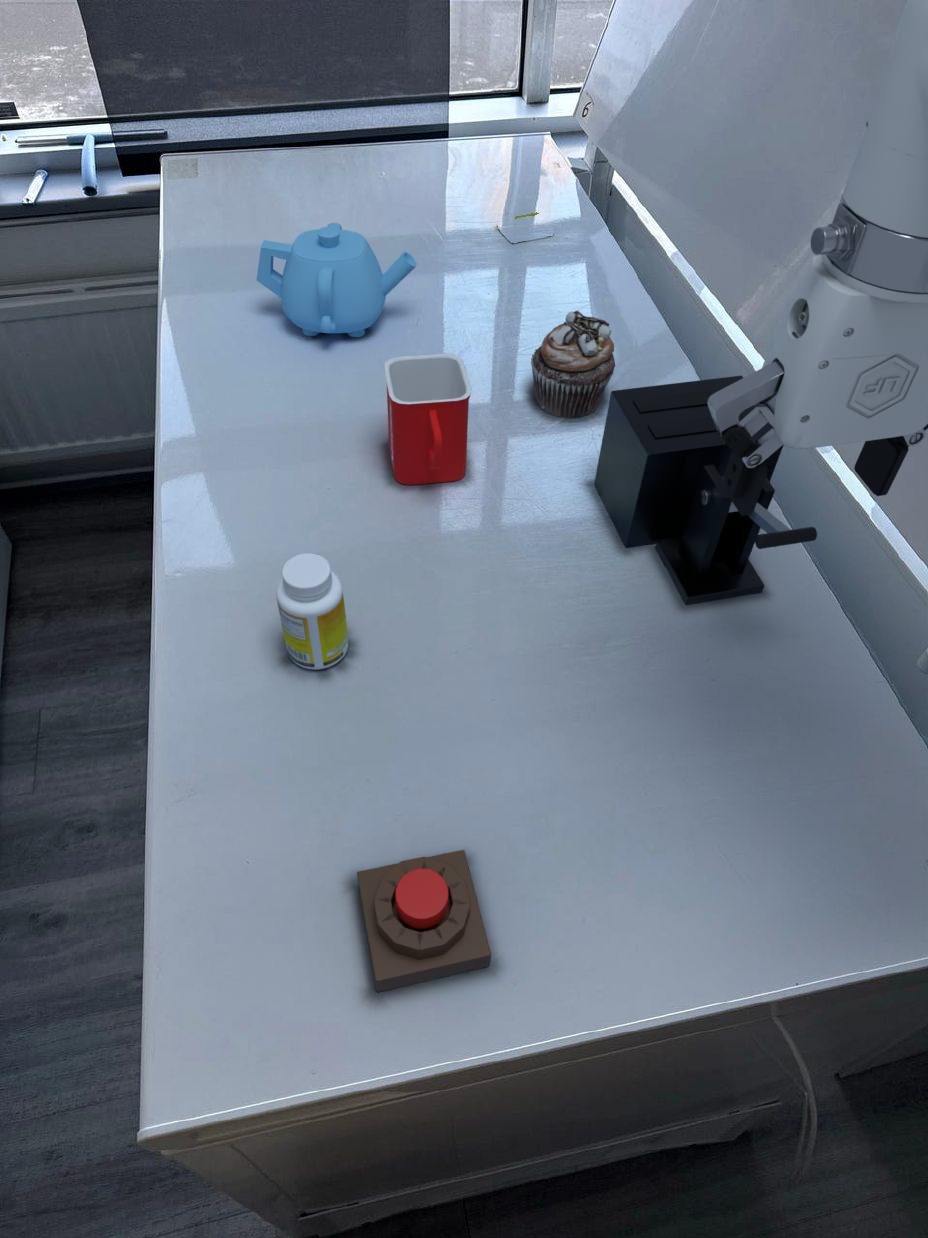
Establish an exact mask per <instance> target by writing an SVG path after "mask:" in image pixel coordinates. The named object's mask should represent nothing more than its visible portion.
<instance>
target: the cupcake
mask: <svg viewBox="0 0 928 1238" xmlns="http://www.w3.org/2000/svg"><path fill="white" fill-rule="evenodd" d="M564 319H565V321H564V322H563V323H561V324H560V323H559V324H558V325H557V326H555V327H554V328H553V329H552V330H551V331H550V332H549V333H547V334H546V336H544V338H543V340H542V343H541V345H540V346H539V347H538V348H535V349H534V352H533V354H531V357H530V364H531V365H530V366H531V372H532V380H533V381H532V382H533V392H534V394H533V395H534V400H535V403H536V405H537V406H538V407H539V408H540V409H542V410H543V411H545V412H546V413H547V414H550V415H552V416H555V417H559V418H560V417H562V418H568V419H574V418H582V417H585V416H589V415H590V414H592V413H595V411H596V410H597V407H598V406H599V405H600V402H601V400H602V397H603V395H604V393H605V391H606V388H607V386H608V384H609V382H610V380H611V379H612V376H613V375H614V371H615V368H616V360H615V356H614V351H615V343H614V342H613V340H612V338H611V334H612V329H611V328H610V323H609V322H607V321H606V320H604V319H601V318H598V317H594V316H586V315H584V314H583V313H582V312H580V311H579V310H575V311H569V312H568V313H567V314H566V315H565V318H564Z"/></svg>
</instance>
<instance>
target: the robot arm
mask: <svg viewBox="0 0 928 1238" xmlns="http://www.w3.org/2000/svg"><path fill="white" fill-rule="evenodd" d="M882 71H883V72H882V74H881V77H880V79H879V84H878V86H877V89H876V92H875V96H874V98H873V100H872V101H873V102H872V105H871V107H870V111H869V113H868V116H867V120H866V122H865V126H864V128H863V131H862V135H861V137H860V141H859V143H858V147H857V149H856V152H855V156H854V159H853V162H852V164H851V168H850V170H849V173H848V176H847V179H846V183H845V185H844V188H843V192H842V195H841V198H840V200H839V203H838V205H837V207H836V210H835V214H834V217H833V219H832V223H829V224H828V225H827V226H818V227H816V228H815V229H814V230H813V231H812V234H811V236H810V249H811V253H813V255H814V256H813V257H812V259H811V260H810V262H809V264H808V265H807V267H806V269H805V271H804V272H803V274H802V275H801V278H800V279H799V281H798V284H797V285H796V287H795V289H794V291H793V292H792V295H791V297H790V299H789V301H788V303H787V305H786V308H785V310H784V311H783V314H782V316H781V319H780V320H779V323H778V325H777V327H776V329H775V332H774V334H773V337H772V340H771V343H770V345H769V347H768V350H767V353H766V355H765V358H764V361H763V364H762V367H761V368H759V369H757V370H756V371H754V372H752V373H750V374H748V375H746V376H743V378H742V379H740V380H739V381H737V382H735V383H733V384H731V385H729V386H727V387H725V388H723V389H722V390H720V391H718V392H716V393H714V394H712V395H711V396H710V397H709V398H708V401H707V403H708V407H709V410H710V413H711V416H712V419H713V421H714V427H715V429H716V430H717V432H718V433H719V435H720V436H721V438H722V439H723V441H724V442H725V444H726V445H727V446H728V447H729V448H730V449H731V450H732V452H731V456H730V459H729V462H728V465H727V469H726V472H725V475H724V478H723V490H724V492H725V494H726V495H727V497H728V498H730V499H731V500H732V502H733V503H734V505H735V507H736V508H737V510H738V511H739V513H740V514H741V515H742V516H745V515H751V514H752V512H754V509H755V507H756V504H757V501H758V498H759V495H760V492H761V490H762V487H763V484H764V481H765V478H766V475H767V472H768V468H767V466H766V464H765V463H764V460H766V459H767V458H768V457H769V456H770V455H771V454H773V453H774V452H775V451H776V450H777V449H778V448H780V447H781V446H782V445H783V444H784V446H785V447H787V448H790V449H797V450H807V449H816V448H822V447H823V448H825V447H832V446H841V445H848V444H855V443H856V444H857V443H863V442H864V443H863V445H862V448H861V451H860V452H859V455H858V457H857V459H856V462H855V464H854V472H855V473H856V474H857V475H858V477H859V478H860V480H862V482H863V483H864V484H865V485H866V486H867V488H868V490H870V491H871V493H872V494H873V495H874V496H876V497H882V496H886V495H888V493H889V491H890V489H891V487H892V486H893V483H894V481H895V479H896V476H897V475H898V473H899V472H900V469H901V467H902V465H903V462H904V461H905V459H906V456H907V455H908V453H909V451H910V450H909V447H915V446H917V445H919V444H921V443H922V442H923V441H924V439H925V437H926V431H927V430H928V0H907V1H906V3H905V5H904V8H903V11H902V14H901V18H900V20H899V23H898V26H897V30H896V32H895V35H894V38H893V41H892V45H891V48H890V50H889V54H888V56H887V59H886V63H885V65H884V69H883V70H882ZM753 405H755V407H756V408H755V409H753V410H752V411H751V412H750V413H749V414H748V415H747V416H746V417H745V418H743V419H742V420H741V421H740V422H739V416H740V414H741V413H742V411H744V410H745V409H747V408H749V407H751V406H753ZM767 423H769V424H770V425H771V427H772V429H771V430H770V431H768V432H767V433H766V434H765V435H764V436H763V437H762V438H760V439H759V440H758V441H757V442H755V440H754V439H753V438H752V436H753V435H754V434H755V433H756V432H757V431H759V430H760V429H761V428H762V427H763V426H764V425H765V424H767Z"/></svg>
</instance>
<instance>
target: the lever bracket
mask: <svg viewBox="0 0 928 1238" xmlns="http://www.w3.org/2000/svg"><path fill="white" fill-rule="evenodd" d="M775 493H776V489H775V488H774V486H773V485H772V483H771V481H770V482H769V481H768V479H767V478H765V481H764V484H763V487H762V490H761V492H760V495H759V498H758V501H757V502H758V503H759V504H760V505H761V506H763V507H764V508H765V509H766V510H767V511H769V507H770V505H771V502H772V499H773V498H774V494H775ZM731 503H732V500H731V499H730V498H728V497H727V495H726V494H725V492H724V490H723V479H722V477H721V476H720V474H719V473H718V471H717V470H716V468H715V466H714V465H708V466H703V470H702V473H701V476H700V480H699V483H698V486H697V490H696V493H695V496H694V500H693V503H692V506H691V510H690V513H689V516H688V520H687V523H686V526H685V530H684V533H683V536H682V537H678V538H671V539H664V540H658V541H657V543H655V544H656V545H655V549H656V551H657V552H658V554H659V556H660V558H661V560H662V562H663V564H664V567H666V570H667V572H668V574H669V575H670V577H671V579H672V581H673V583H674V585H675V587H676V588H677V591H678V592H679V594H680V596H681V598H682V599H683V602H684V604H685V605H691V604H692V605H693V604H698V603H705V602H710V601H716V600H717V601H718V600H722V599H729V598H735V597H740V596H746V595H753V594H759V593H763V590H764V588H765V583H764V582H763V580H762V579H761V577H760V575H759V574H758V572H757V571H756V569H755V567H754V565H753V564H752V563H751V560H750V559H749V558H750V556H751V553H752V552H753V548H754V546H755V545H756V544H755V537H756V536H757V535H759V534H760V531H761V529H762V528H761V527H759V526H758V525H757V524H756V523H755V522H754V521H753V520H751V519H750V518H749V517H748V516H747V515H745V516H742V515H741V514H740V513H739V511H737V512H731V513H728V511H729V509H730V506H731Z"/></svg>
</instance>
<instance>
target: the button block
mask: <svg viewBox="0 0 928 1238" xmlns="http://www.w3.org/2000/svg"><path fill="white" fill-rule="evenodd" d="M420 868H424V869H430V870H433V871H435V872H437V873H438V874H439V875H441V876H442V878H443V879H444V880H445V882H446V884H447V887H448V893H449V895H448V908H447V912H446V914H445V916H444V917H443V919H442V920H441V921H440V922H439V923H438V924H436V925H434V926H432V927H429V928H425V929H419V928H414V927H411V926H409V925H407V924H406V923H405V922H403V921H402V919H401V918H400V917H399V915H398V912H397V909H396V898H395V892H396V887H397V884H398V882H399V881H400V879H401V878H402V877H403V876H404V875H405V874H406V873H408V872H410V871H412V870H415V869H420ZM471 875H472V874H471V871H470V867H469V863H468V859H467V856H466V852H465V849H461V850H456V851H450V852H447V853H446V852H445V853H441V854H437V855H433V856H420V857H415V858H410V859H406V860H401V861H400V862H398V863H393V864H388V865H383V866H379V867H373V868H369V869H365V870H360V871H359V870H358V871H356V877H357V884H358V891H359V895H360V903H361V908H362V914H363V920H364V925H365V931H366V937H367V942H368V948H369V954H370V961H371V965H372V966H371V967H372V972H373V978H374V984H375V989H376V993H381V992H385V991H389V990H394V989H397V988H403V987H406V986H410V985H411V986H412V985H415V984H419V983H424V982H428V981H432V980H436V979H441V978H446V977H449V976H453V975H458V974H462V973H463V974H464V973H466V972H471V971H475V970H479V969H484V968H489V967H490V965H491V958H492V953H491V949H490V944H489V941H488V937H487V934H486V929H485V926H484V921H483V917H482V914H481V910H480V906H479V902H478V899H477V894H476V891H475V887H474V883H473V879H472V876H471Z"/></svg>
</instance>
